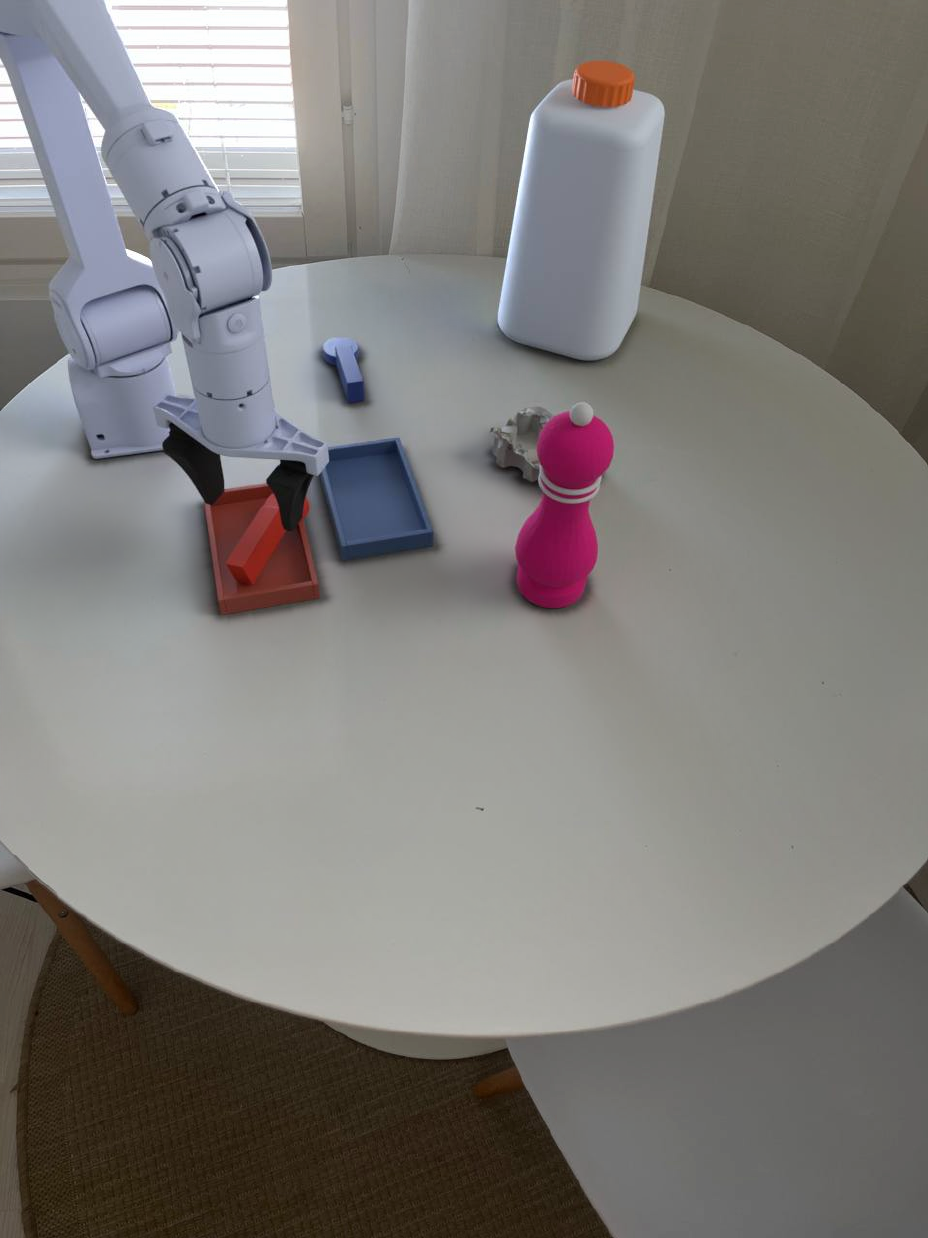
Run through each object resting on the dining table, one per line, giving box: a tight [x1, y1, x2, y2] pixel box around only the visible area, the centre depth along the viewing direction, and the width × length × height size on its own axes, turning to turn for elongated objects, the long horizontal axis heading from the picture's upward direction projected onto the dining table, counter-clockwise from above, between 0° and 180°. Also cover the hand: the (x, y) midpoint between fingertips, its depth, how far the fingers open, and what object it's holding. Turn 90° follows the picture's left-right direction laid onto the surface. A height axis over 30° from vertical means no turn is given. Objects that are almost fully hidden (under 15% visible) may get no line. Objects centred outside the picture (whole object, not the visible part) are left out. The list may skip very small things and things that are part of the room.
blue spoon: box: [322, 336, 365, 404], centre depth 101 cm, size 11×4×3 cm, turn 16°
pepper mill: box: [514, 401, 615, 609], centre depth 75 cm, size 7×7×20 cm
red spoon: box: [226, 493, 311, 585], centre depth 82 cm, size 11×4×3 cm, turn 159°
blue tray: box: [319, 436, 434, 562], centre depth 88 cm, size 9×14×2 cm, turn 16°
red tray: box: [203, 482, 321, 616], centre depth 83 cm, size 9×14×2 cm, turn 16°
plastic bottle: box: [497, 60, 666, 362], centre depth 100 cm, size 15×15×28 cm
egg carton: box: [489, 406, 555, 483], centre depth 92 cm, size 11×8×4 cm
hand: (253, 510), depth 78 cm, fingers open, 7 cm apart
